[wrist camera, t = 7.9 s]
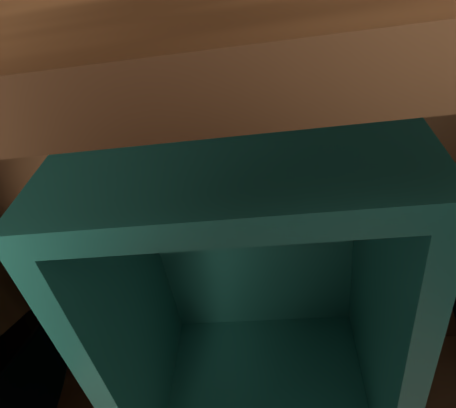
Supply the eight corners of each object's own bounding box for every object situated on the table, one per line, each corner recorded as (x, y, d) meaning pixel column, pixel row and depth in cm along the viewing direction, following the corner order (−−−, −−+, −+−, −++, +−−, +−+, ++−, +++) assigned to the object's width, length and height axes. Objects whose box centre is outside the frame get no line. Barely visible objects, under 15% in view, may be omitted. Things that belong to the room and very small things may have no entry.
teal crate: (381, 59, 9) (482, 200, 5) (361, 313, 14) (404, 484, 10) (95, 93, 10) (-15, 237, 6) (172, 321, 15) (142, 483, 11)
